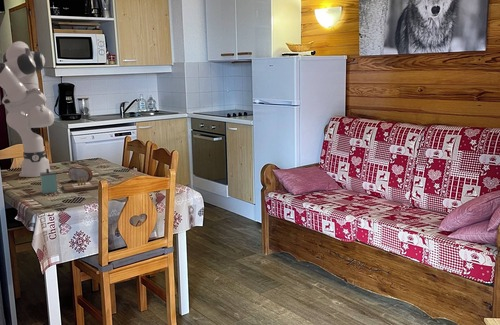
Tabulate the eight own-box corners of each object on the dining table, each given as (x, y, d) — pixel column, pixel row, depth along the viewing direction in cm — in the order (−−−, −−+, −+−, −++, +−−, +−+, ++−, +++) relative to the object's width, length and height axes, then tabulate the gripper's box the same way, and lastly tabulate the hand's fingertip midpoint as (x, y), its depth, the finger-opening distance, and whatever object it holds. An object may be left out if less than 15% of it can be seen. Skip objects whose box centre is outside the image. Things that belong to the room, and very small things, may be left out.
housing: (41, 191, 259) (39, 168, 256) (56, 189, 262) (54, 167, 259) (42, 193, 254) (40, 170, 252) (57, 191, 257) (55, 169, 255)
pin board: (62, 187, 267) (61, 178, 266) (96, 182, 275) (96, 174, 274) (66, 192, 255) (65, 183, 254) (102, 188, 263) (101, 178, 262)
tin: (93, 181, 279) (92, 166, 277) (89, 183, 276) (88, 168, 274) (71, 179, 284) (70, 165, 283) (68, 181, 281) (66, 166, 280)
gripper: (38, 83, 248) (54, 104, 257) (2, 95, 251) (19, 116, 261) (35, 90, 244) (51, 112, 253) (-2, 103, 247) (16, 123, 256)
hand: (35, 114), depth 257 cm, fingers open, 8 cm apart
